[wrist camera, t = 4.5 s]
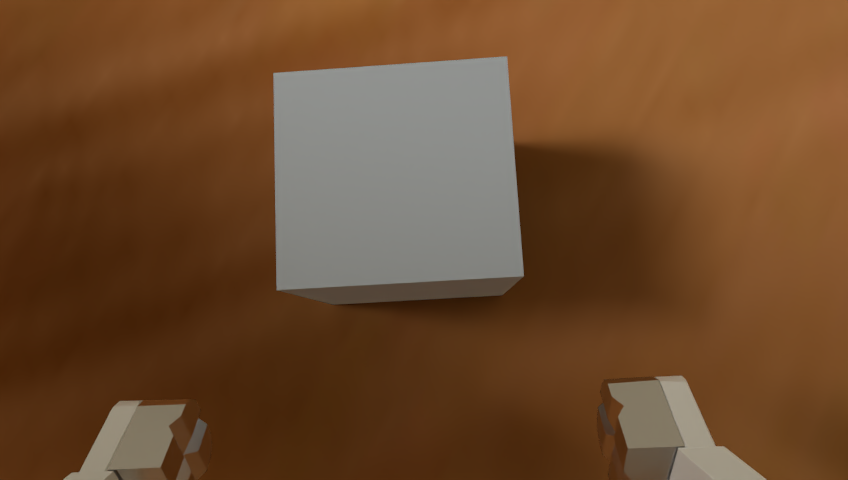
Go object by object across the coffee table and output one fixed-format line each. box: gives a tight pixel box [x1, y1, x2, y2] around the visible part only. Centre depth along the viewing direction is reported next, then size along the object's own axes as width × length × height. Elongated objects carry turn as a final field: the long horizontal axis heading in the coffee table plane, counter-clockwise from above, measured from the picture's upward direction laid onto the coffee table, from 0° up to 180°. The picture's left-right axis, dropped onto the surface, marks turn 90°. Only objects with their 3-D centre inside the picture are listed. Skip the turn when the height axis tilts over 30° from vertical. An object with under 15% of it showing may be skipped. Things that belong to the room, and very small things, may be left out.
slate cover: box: [273, 57, 524, 305], centre depth 19 cm, size 6×6×7 cm
